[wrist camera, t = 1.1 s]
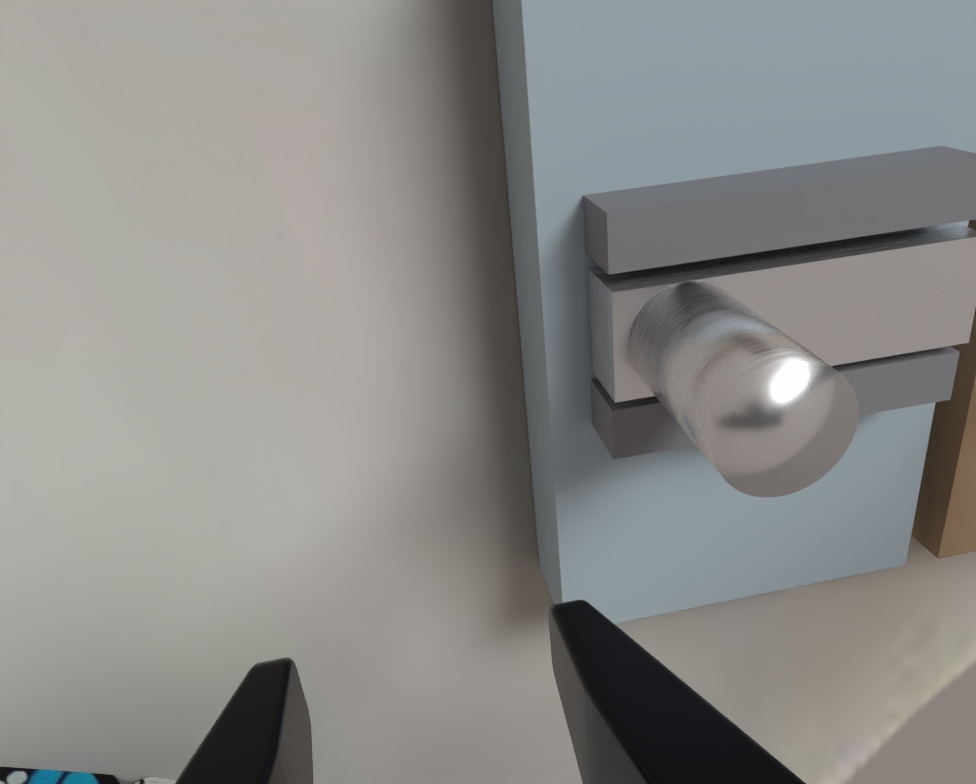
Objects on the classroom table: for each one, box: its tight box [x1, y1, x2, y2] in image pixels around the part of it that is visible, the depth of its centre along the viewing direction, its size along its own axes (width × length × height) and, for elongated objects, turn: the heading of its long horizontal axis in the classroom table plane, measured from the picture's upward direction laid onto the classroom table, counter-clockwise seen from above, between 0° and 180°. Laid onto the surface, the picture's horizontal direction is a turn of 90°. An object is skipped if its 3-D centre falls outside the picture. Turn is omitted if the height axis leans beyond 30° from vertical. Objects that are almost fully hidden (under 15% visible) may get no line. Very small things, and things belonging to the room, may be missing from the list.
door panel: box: [492, 0, 976, 624], centre depth 18 cm, size 10×18×5 cm, turn 6°
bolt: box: [588, 223, 976, 498], centre depth 15 cm, size 8×2×6 cm, turn 96°
